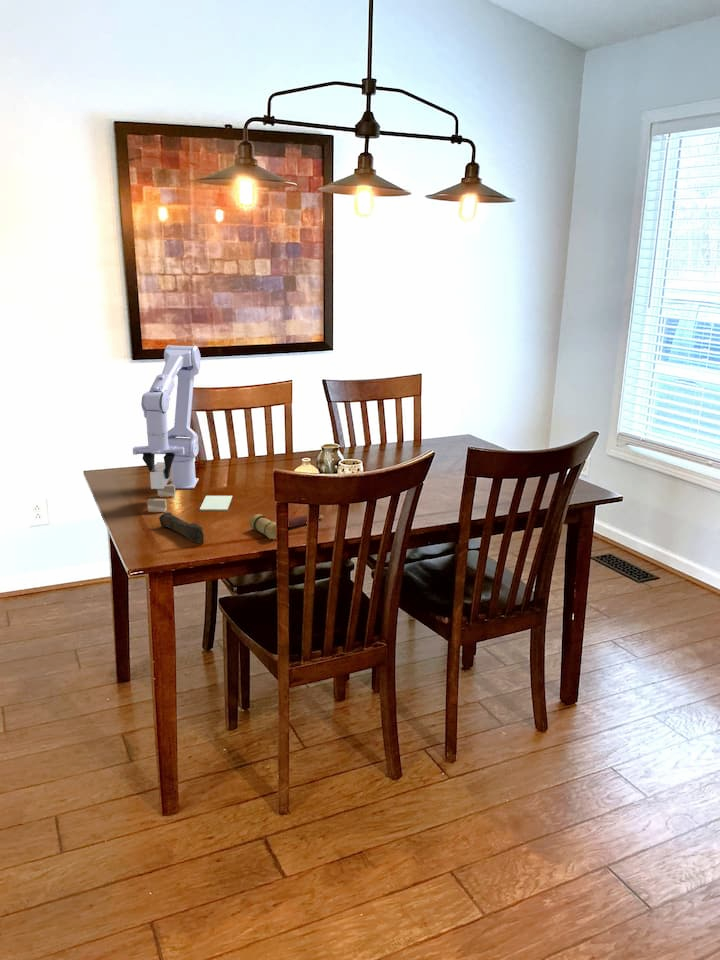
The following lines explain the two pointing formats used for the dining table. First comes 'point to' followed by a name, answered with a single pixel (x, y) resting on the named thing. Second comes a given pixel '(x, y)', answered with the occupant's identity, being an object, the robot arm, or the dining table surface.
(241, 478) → the dining table surface
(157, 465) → the steel bar
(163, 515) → the hand tool
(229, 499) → the mat
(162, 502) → the blocks
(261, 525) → the gavel
